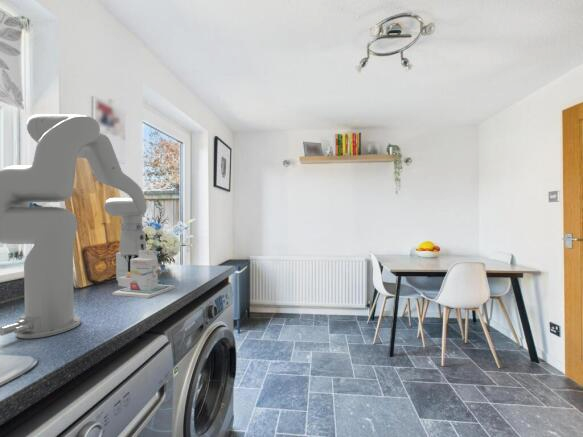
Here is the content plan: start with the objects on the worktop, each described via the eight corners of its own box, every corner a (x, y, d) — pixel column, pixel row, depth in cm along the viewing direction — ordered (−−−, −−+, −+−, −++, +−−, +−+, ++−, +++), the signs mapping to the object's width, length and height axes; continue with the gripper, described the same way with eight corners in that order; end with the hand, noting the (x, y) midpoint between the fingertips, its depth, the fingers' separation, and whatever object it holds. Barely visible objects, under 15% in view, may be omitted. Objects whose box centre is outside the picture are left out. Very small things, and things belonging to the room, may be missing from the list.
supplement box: (141, 277, 129) (141, 250, 129) (131, 281, 122) (130, 252, 122) (127, 277, 130) (126, 250, 130) (115, 280, 123) (115, 252, 123)
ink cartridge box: (129, 290, 103) (129, 251, 103) (138, 286, 108) (138, 249, 108) (150, 290, 102) (149, 251, 102) (158, 287, 107) (158, 250, 107)
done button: (132, 280, 113) (132, 274, 113) (124, 279, 114) (124, 273, 114) (140, 277, 117) (140, 272, 117) (132, 277, 118) (132, 271, 118)
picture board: (148, 298, 97) (148, 295, 97) (112, 294, 101) (112, 291, 101) (174, 288, 110) (174, 285, 110) (142, 285, 115) (142, 282, 115)
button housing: (132, 287, 111) (132, 278, 111) (118, 286, 113) (118, 277, 113) (146, 283, 118) (146, 275, 118) (132, 282, 120) (132, 274, 120)
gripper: (153, 227, 117) (153, 270, 118) (125, 227, 121) (125, 268, 122) (139, 228, 110) (140, 274, 110) (110, 228, 114) (110, 272, 114)
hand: (132, 271), depth 116 cm, fingers closed
